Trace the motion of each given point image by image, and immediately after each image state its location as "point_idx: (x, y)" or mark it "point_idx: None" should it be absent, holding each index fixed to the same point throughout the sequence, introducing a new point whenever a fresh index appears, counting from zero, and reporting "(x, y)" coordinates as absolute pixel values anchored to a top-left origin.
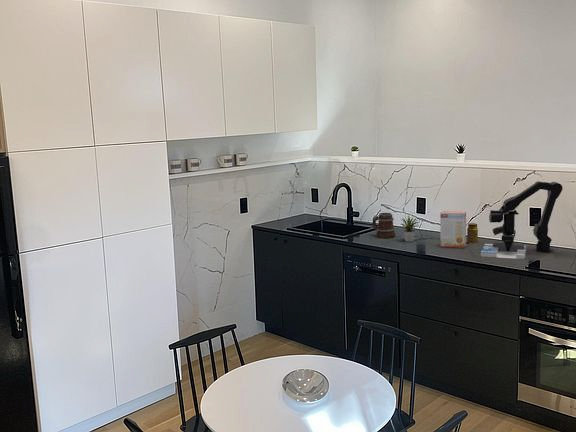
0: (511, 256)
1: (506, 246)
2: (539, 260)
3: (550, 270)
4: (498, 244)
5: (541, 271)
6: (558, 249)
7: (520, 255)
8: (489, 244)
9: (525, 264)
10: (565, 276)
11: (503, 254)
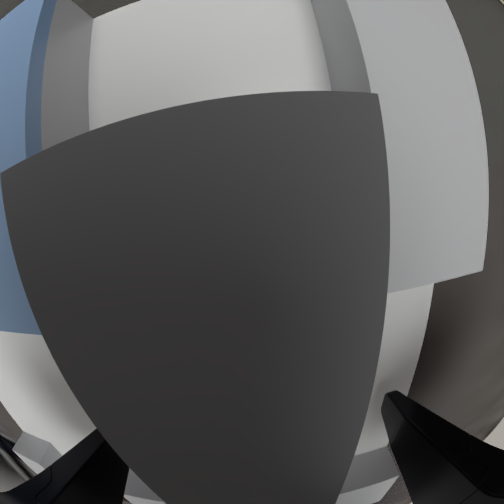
0: (35, 417)
1: (60, 470)
2: (126, 501)
3: (33, 476)
4: (73, 379)
5: (4, 452)
6: (403, 500)
7: (30, 465)
8: (416, 24)
9: (15, 439)
10: (24, 479)
11: (31, 364)
